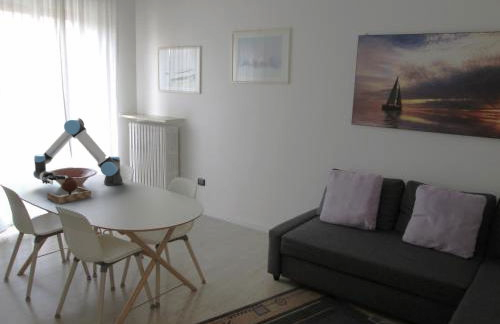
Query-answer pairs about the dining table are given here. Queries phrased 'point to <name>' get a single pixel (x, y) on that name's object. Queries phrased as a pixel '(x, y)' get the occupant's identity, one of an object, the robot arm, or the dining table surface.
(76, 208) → the dining table surface
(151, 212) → the dining table surface
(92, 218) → the dining table surface
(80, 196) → the bay
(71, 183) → the ice cream bowl
